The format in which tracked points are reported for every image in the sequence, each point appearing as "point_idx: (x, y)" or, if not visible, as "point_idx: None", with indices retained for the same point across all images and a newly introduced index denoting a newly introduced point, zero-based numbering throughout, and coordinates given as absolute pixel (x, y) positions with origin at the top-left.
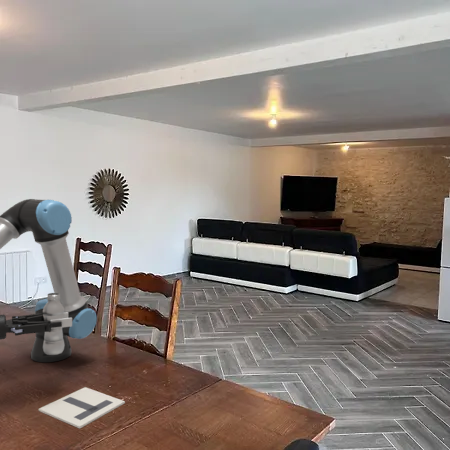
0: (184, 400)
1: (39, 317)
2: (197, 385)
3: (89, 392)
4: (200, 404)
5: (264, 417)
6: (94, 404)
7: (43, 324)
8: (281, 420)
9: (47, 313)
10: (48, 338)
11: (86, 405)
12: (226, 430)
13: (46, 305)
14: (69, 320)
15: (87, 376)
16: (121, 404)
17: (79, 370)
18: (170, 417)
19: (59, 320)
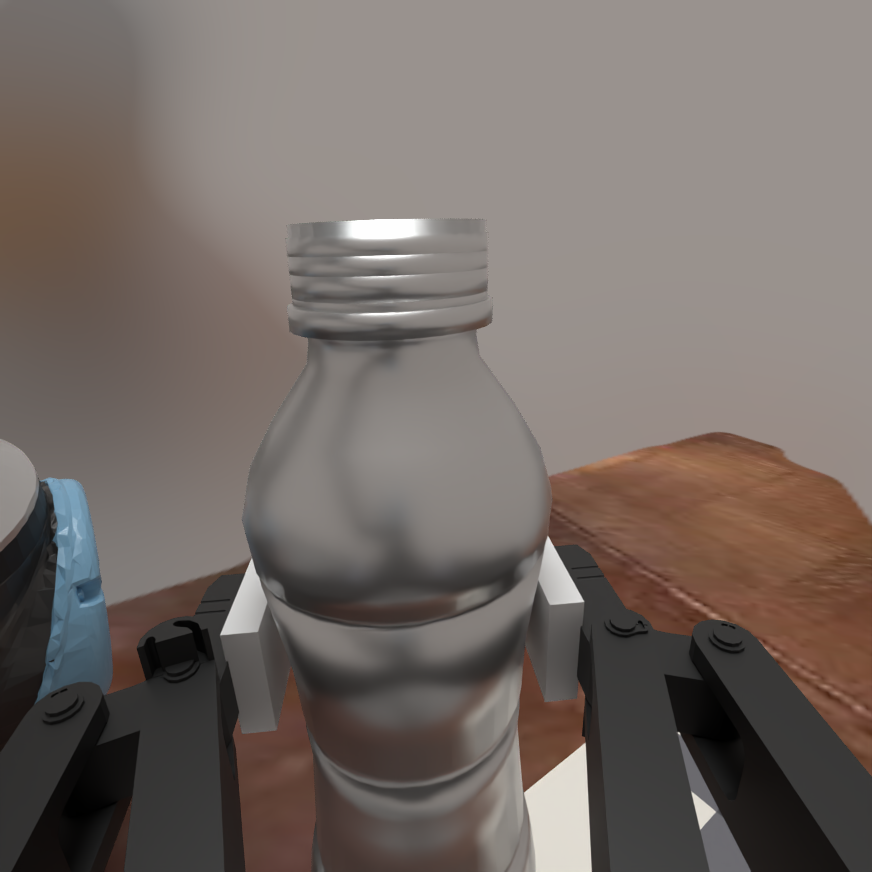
0: (634, 554)
1: (223, 770)
2: None
3: (545, 820)
4: (660, 534)
5: (719, 474)
6: (695, 809)
7: (793, 688)
8: (729, 462)
9: (533, 545)
10: (507, 835)
11: (712, 853)
12: (800, 522)
13: (440, 440)
14: None
15: (302, 816)
16: None
17: None
18: (754, 594)
19: (549, 546)
